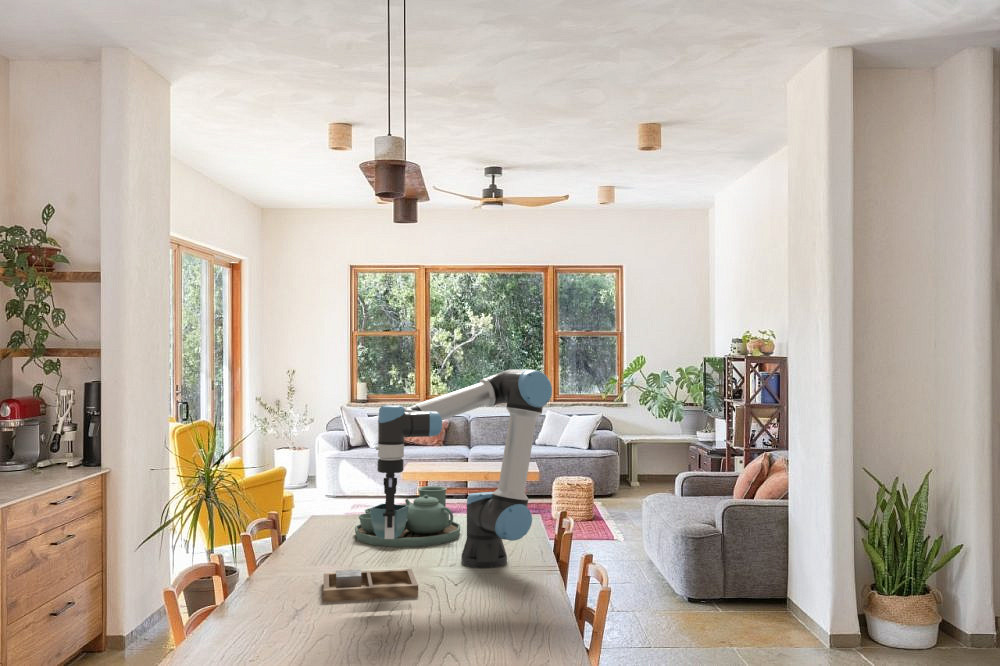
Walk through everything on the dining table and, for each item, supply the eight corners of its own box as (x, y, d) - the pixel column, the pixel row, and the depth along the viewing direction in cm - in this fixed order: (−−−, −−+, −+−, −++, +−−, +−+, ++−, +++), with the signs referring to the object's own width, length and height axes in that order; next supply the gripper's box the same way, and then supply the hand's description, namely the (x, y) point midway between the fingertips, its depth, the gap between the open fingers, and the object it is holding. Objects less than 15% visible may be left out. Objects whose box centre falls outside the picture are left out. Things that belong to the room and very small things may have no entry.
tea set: (371, 523, 336) (371, 483, 336) (468, 527, 331) (468, 485, 331) (339, 546, 297) (340, 500, 297) (449, 550, 291) (449, 503, 292)
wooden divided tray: (411, 582, 250) (411, 568, 250) (418, 599, 232) (418, 585, 232) (323, 586, 245) (323, 573, 245) (323, 605, 227) (323, 590, 227)
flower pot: (408, 535, 245) (409, 505, 245) (397, 541, 236) (397, 510, 236) (381, 533, 247) (381, 503, 247) (368, 539, 238) (369, 508, 239)
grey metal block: (360, 586, 241) (360, 569, 241) (361, 593, 235) (361, 575, 235) (335, 588, 240) (336, 570, 240) (336, 594, 233) (336, 577, 233)
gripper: (378, 453, 253) (376, 526, 252) (377, 463, 230) (375, 543, 230) (402, 453, 254) (401, 526, 253) (404, 463, 231) (402, 543, 231)
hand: (389, 534), depth 242 cm, fingers closed on flower pot, 10 cm apart
